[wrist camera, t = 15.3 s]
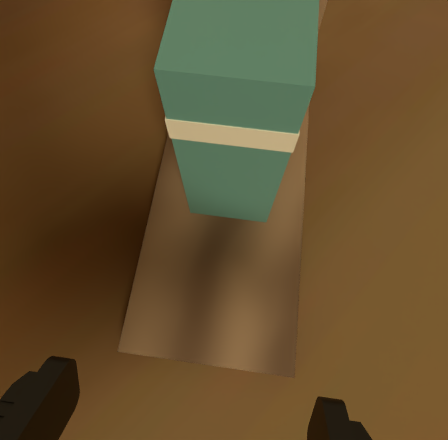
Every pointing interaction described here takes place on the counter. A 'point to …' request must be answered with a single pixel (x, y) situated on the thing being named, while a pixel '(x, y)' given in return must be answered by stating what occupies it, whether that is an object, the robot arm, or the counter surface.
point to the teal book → (236, 97)
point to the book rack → (220, 277)
